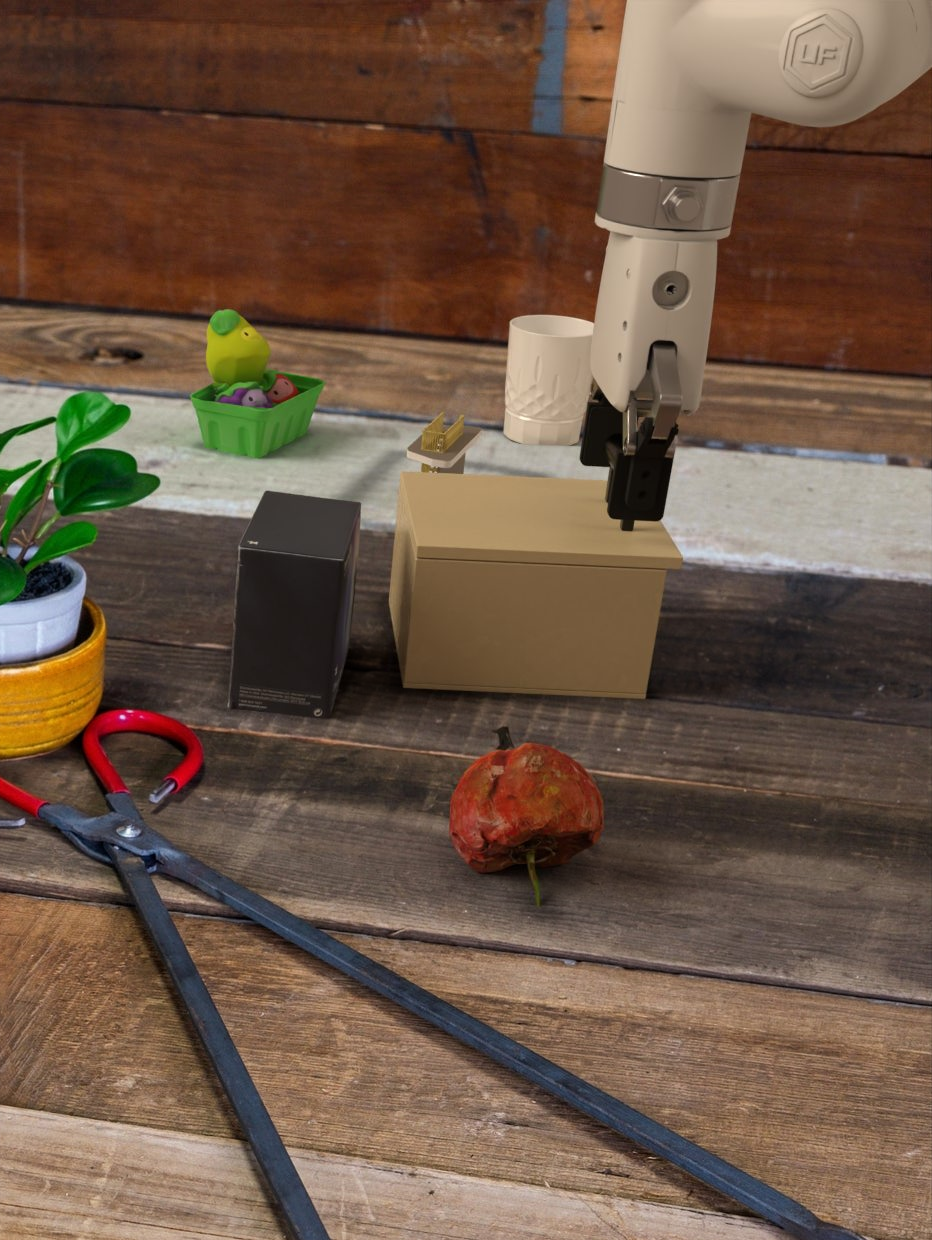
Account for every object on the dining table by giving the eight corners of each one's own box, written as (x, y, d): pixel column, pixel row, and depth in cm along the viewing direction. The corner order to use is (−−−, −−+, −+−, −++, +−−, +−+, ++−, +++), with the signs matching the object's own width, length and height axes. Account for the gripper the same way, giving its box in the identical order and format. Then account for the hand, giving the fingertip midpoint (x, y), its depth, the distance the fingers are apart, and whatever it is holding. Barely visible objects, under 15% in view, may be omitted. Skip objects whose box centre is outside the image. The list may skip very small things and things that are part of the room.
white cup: (528, 454, 146) (543, 339, 141) (479, 428, 152) (492, 317, 147) (603, 445, 149) (620, 333, 144) (552, 420, 155) (567, 312, 150)
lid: (635, 493, 109) (647, 417, 107) (681, 570, 97) (696, 486, 95) (399, 482, 110) (406, 406, 107) (415, 558, 98) (423, 473, 95)
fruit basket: (263, 470, 139) (271, 334, 134) (172, 451, 143) (175, 318, 138) (325, 437, 148) (334, 308, 143) (237, 419, 152) (242, 293, 146)
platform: (328, 524, 128) (334, 440, 125) (398, 459, 143) (405, 383, 140) (481, 550, 124) (491, 465, 121) (537, 481, 139) (547, 404, 136)
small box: (335, 728, 97) (348, 558, 92) (224, 716, 98) (231, 547, 93) (353, 654, 106) (366, 497, 102) (251, 644, 107) (259, 487, 103)
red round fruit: (605, 937, 83) (582, 753, 87) (626, 886, 76) (600, 690, 81) (453, 944, 83) (438, 760, 88) (461, 893, 77) (444, 698, 81)
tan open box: (604, 617, 113) (623, 493, 110) (644, 706, 101) (667, 570, 97) (388, 607, 114) (399, 483, 110) (402, 695, 102) (415, 558, 98)
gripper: (773, 235, 87) (713, 545, 95) (697, 180, 102) (651, 450, 110) (628, 228, 87) (580, 538, 95) (574, 173, 102) (537, 444, 110)
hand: (618, 491), depth 102 cm, fingers open, 9 cm apart
